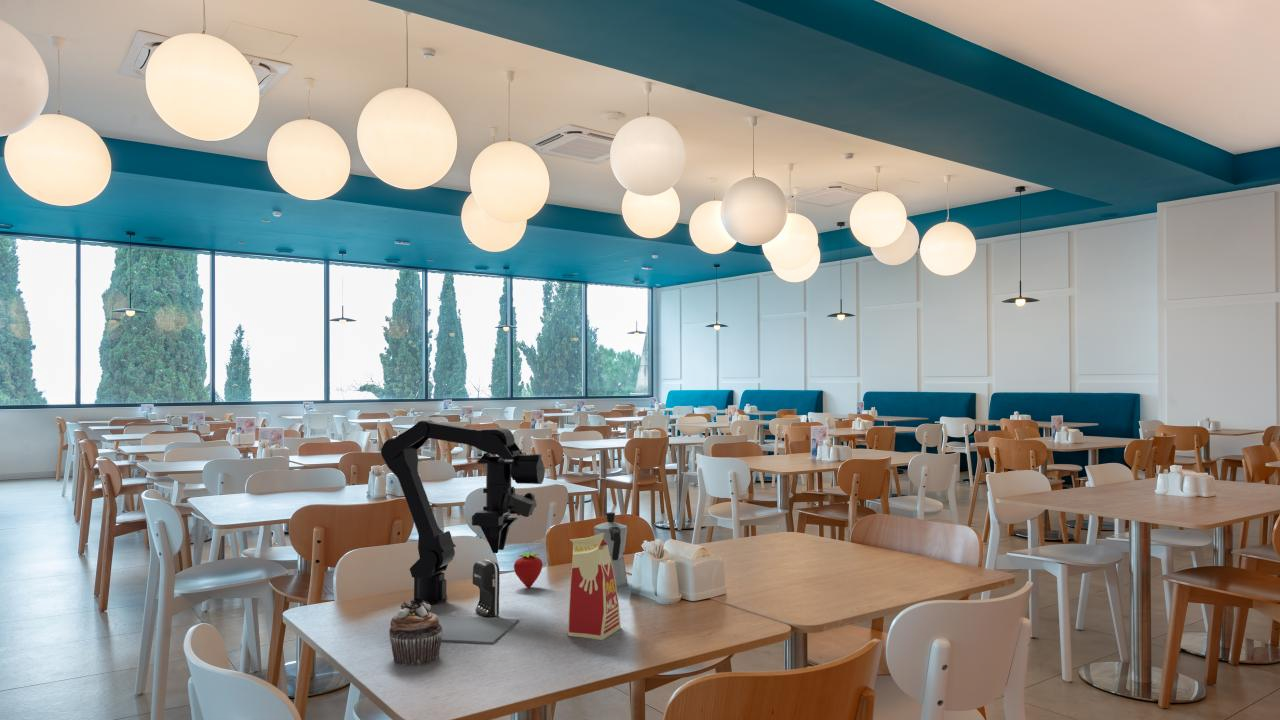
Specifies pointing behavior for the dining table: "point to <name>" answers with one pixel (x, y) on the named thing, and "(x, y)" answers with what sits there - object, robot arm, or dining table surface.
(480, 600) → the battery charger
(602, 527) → the coffee maker
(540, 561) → the strawberry
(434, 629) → the cupcake
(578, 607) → the milk carton
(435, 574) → the robot arm
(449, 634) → the mat
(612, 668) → the dining table surface
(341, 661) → the dining table surface
